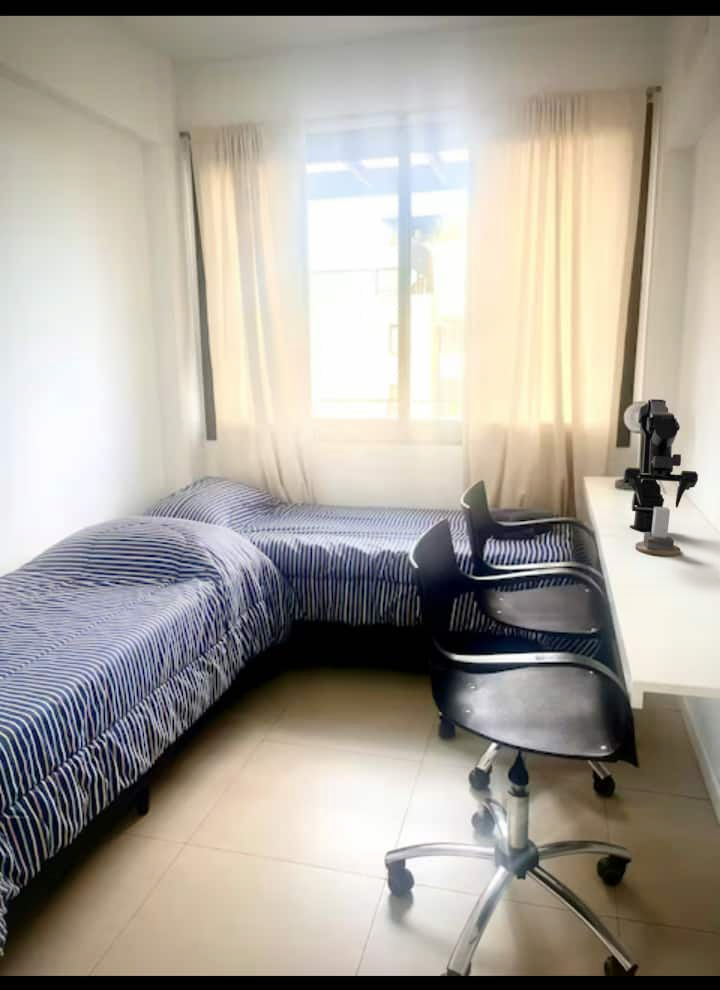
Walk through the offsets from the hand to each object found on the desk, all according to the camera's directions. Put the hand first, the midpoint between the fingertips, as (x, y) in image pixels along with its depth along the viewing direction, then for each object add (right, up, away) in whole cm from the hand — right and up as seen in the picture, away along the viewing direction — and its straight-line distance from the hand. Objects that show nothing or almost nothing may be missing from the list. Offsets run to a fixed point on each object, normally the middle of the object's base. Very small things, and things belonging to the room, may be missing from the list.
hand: (658, 505), depth 191 cm
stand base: (+4, -13, +9) cm, 16 cm away
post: (+4, -12, +9) cm, 15 cm away
